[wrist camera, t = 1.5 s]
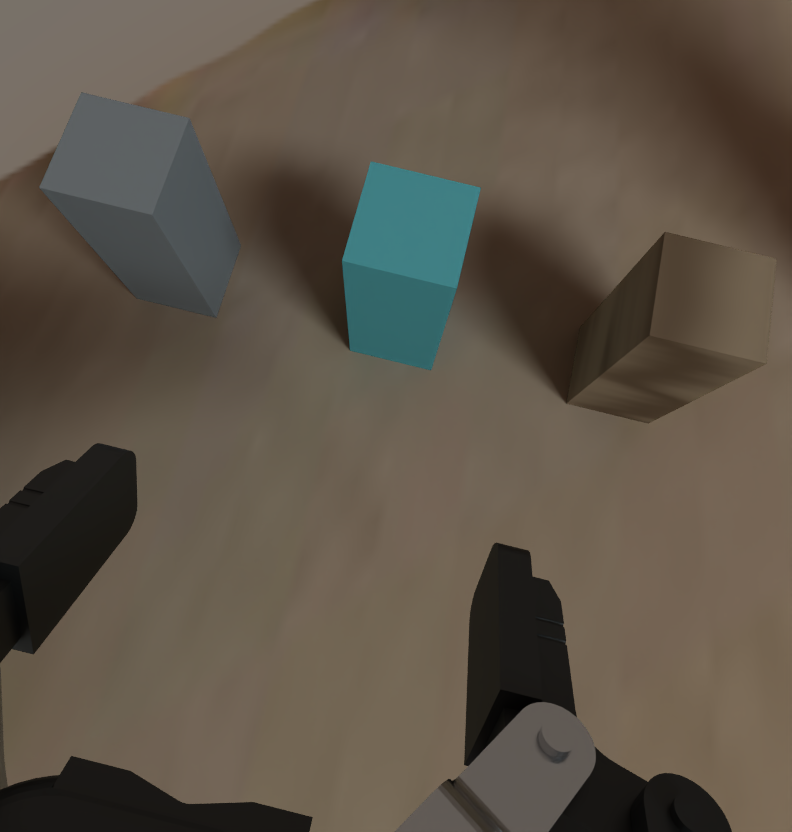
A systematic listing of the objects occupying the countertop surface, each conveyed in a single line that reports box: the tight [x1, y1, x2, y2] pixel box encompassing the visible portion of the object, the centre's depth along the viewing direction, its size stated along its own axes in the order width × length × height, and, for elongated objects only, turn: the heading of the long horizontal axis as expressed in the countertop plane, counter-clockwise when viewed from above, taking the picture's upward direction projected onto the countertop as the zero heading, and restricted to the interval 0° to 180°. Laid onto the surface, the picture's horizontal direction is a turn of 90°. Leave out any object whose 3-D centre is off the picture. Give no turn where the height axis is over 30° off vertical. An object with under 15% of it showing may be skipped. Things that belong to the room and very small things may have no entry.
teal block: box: [342, 162, 481, 370], centre depth 28 cm, size 4×4×10 cm
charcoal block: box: [39, 93, 241, 318], centre depth 29 cm, size 4×4×10 cm
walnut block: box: [567, 232, 777, 423], centre depth 28 cm, size 4×4×10 cm
